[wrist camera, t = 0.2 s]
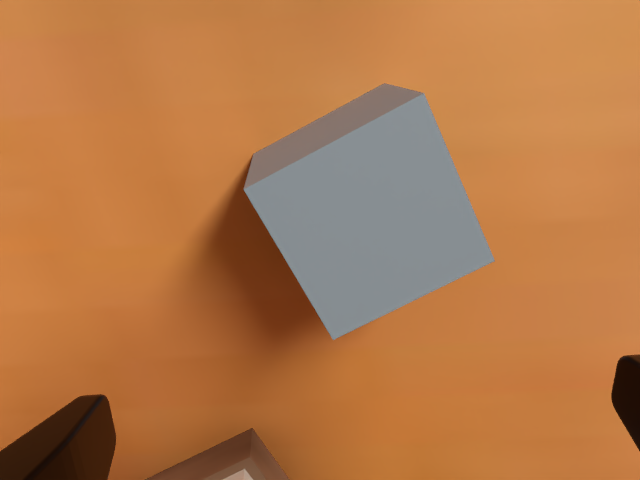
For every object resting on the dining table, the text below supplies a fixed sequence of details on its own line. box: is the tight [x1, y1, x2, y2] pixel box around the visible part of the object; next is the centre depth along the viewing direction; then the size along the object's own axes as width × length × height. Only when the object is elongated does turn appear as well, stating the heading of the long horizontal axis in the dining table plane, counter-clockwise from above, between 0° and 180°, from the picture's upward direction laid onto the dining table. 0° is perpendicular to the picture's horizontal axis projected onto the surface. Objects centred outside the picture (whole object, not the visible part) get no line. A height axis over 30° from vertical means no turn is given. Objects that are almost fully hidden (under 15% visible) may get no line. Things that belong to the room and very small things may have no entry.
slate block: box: [243, 83, 495, 340], centre depth 19 cm, size 6×6×6 cm
